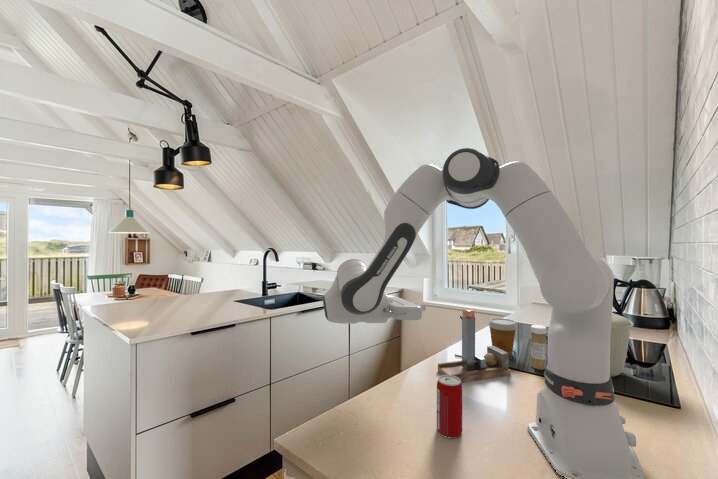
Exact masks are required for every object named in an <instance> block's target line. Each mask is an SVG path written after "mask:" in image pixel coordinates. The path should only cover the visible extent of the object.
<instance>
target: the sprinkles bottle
mask: <svg viewBox="0 0 718 479" xmlns="http://www.w3.org/2000/svg"><path fill="white" fill-rule="evenodd" d="M530 333H531V338H530V339H531V342H530V343H531V344H530V345H531V346H530V358H531V359H530V366H531V367H532V368H533V369H536V370H545V367H546V365H547V334H548V328H547V327H546V326H545V325H541V324H532V325H531V326H530Z"/></svg>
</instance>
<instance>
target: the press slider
mask: <svg viewBox="0 0 718 479" xmlns="http://www.w3.org/2000/svg"><path fill="white" fill-rule="evenodd" d="M461 361H462V367H463V368H464V369H466V370H474V369H475V368H476V369H478V370H483V369H486V359H485V358H484V356H481V355H479V354H478V353H476V311H475V309H468V308H467V309H466V308H464V309H462V316H461Z"/></svg>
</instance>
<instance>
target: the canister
mask: <svg viewBox="0 0 718 479" xmlns="http://www.w3.org/2000/svg"><path fill="white" fill-rule="evenodd" d="M634 325H635V323H634V322H632V321H631V320H630V319H628V318H626V317H625V316H622V315H620V314H617V313H613V312H612V323H611V335H610V377H611V378H612V377H617V376H619V375H621V374H622V373H623V371H624V369H625V365H626V360H627V355H628V348H629V343H630V342H629V341H630V337H631V336H630V335H631V328H633V327H634Z"/></svg>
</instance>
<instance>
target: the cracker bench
mask: <svg viewBox="0 0 718 479" xmlns="http://www.w3.org/2000/svg"><path fill="white" fill-rule="evenodd" d="M483 358H485V359H486V369H483V370H478V369H476V368H475V369H474V370H466V369H464V368H463V367H462V360H455V361H448V362H446V361H445V362H439V363H437V372H438V373H439V374H441V375H453V376H456V377H458V378H459V379H460V380H461V383H467V381H468V382H472V381H473V382H474V381H480V380H487V379H493V378H501V377H508V376H512V375H511V374H512V372H511V369H510V368H509V357H508V353H507V352H505V351H503V350H501V349H499V348H497V347H495V346H492V345H488V346H487V348H486V353H485V355H484V356H483Z"/></svg>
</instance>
